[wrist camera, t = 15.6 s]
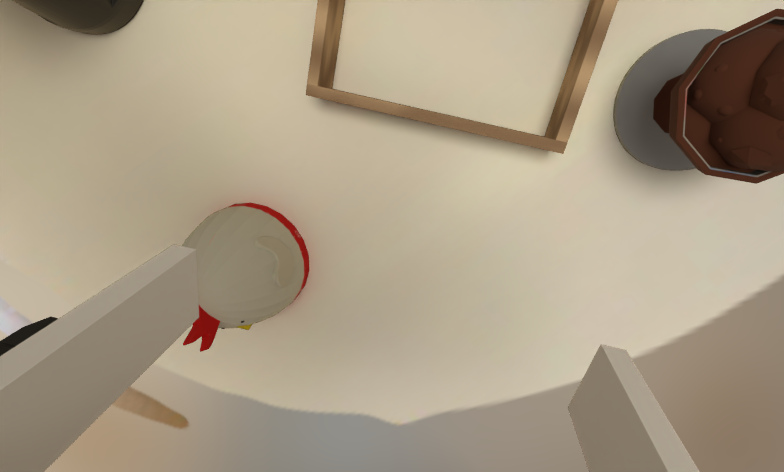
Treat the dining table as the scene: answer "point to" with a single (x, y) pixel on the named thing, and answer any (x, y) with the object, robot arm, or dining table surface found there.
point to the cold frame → (554, 140)
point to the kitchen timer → (245, 268)
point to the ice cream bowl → (731, 103)
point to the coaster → (639, 94)
